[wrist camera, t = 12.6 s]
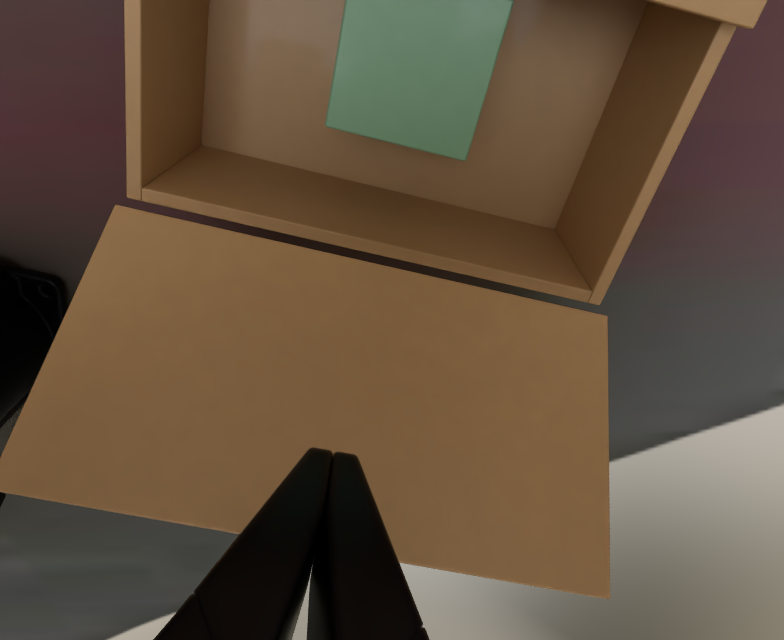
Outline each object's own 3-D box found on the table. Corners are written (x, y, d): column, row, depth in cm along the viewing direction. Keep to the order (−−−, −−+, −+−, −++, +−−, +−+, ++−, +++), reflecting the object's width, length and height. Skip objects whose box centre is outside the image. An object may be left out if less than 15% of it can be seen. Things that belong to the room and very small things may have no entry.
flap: (608, 315, 16) (601, 321, 16) (114, 203, 14) (119, 212, 15) (610, 599, 12) (602, 598, 13) (-15, 489, 11) (-6, 491, 12)
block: (493, -2, 17) (515, -1, 13) (456, 131, 19) (465, 162, 15) (365, -37, 16) (352, -46, 13) (340, 102, 18) (324, 126, 15)
